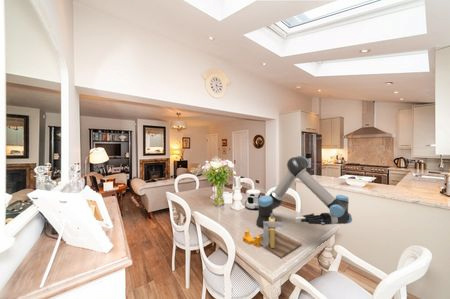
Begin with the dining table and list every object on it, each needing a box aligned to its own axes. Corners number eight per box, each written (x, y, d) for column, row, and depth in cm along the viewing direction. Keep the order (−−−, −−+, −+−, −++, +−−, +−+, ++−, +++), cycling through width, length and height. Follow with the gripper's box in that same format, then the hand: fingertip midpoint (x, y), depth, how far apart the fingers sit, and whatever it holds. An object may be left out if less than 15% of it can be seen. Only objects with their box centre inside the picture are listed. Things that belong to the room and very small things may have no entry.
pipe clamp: (242, 241, 125) (242, 232, 125) (246, 238, 128) (246, 230, 128) (256, 248, 116) (256, 239, 116) (260, 245, 119) (260, 236, 119)
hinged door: (268, 232, 134) (268, 212, 133) (274, 232, 133) (274, 212, 132) (268, 247, 114) (268, 224, 113) (276, 248, 113) (276, 225, 112)
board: (271, 230, 139) (271, 229, 139) (301, 245, 118) (301, 243, 118) (251, 240, 126) (251, 238, 126) (281, 258, 105) (281, 256, 105)
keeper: (263, 248, 116) (263, 222, 115) (263, 245, 119) (263, 220, 118) (282, 249, 114) (282, 224, 113) (281, 247, 117) (281, 222, 116)
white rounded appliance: (251, 203, 200) (250, 188, 200) (264, 207, 189) (264, 190, 188) (242, 208, 187) (242, 191, 187) (256, 212, 176) (256, 194, 175)
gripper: (334, 228, 116) (300, 230, 113) (321, 219, 128) (291, 220, 126) (335, 217, 115) (301, 218, 113) (322, 209, 128) (291, 210, 126)
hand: (295, 219), depth 119 cm, fingers closed
